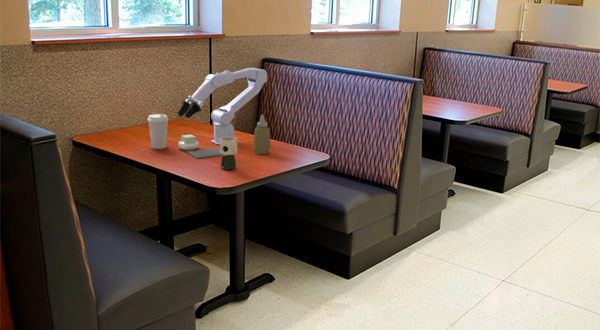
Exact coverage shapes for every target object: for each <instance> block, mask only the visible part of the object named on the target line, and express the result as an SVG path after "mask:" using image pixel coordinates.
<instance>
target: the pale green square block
mask: <svg viewBox="0 0 600 330" xmlns="http://www.w3.org/2000/svg"><path fill="white" fill-rule="evenodd" d="M180 138H181V140H180V141H181V142H183V143H185V144H191V143H196V141H197V137H196V136H195V135H193V134H185V135H184V134H183V135H181V136H180Z"/></svg>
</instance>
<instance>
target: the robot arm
mask: <svg viewBox="0 0 600 330" xmlns="http://www.w3.org/2000/svg"><path fill="white" fill-rule="evenodd" d="M242 78H247V79H246V80H247V84H248V87H246V88H245V89H244V90H243V91H242V92H241V93H239V94H238V95H237V96H236V97H234V98H233V99H232V100H231V101H230V102H228V103H227V104H226V105H223V106H220V107H218V108H217V109H214V110H212V112H211V114H210V119H211V121H212V122H213V139H211V140H210V141H211V142H212V143H214V144H216V145H219V146H220V138H221V137H235V127H234V125H233V124H232V123H231V122H232V120H233V119H234V118H235V113H236V112H238V110H240V109H241V108H242V107H244V106H245V105H246V104H247V103H248V102H250V100H252V99H253V98H254V97H255V96H257V95H258V94H259V93H260V91H261V89H262V88H263V86H264V84H265V83H266V82H268V72H267V70H265V69H262V68H257V67H254V66H253V67H247V68H244V69H243V68H242V69H241V70H237V71H233V72H232V71H230V70H227V69H226V70H224V71H223V72H216V73H215V74H213V73H211V74H210V73H209V74H208V75H206V76H205V77H204V81H203V83H202V84H201V85H200V86H199V87H198V89H196V91H195V92H193V94H192V95H188V96H187V97H188V98H187V99H185V100H181V101H182V103H181V106H180V108H179V109H178V112H177V115H178V116H179V117H180V118H182V117H183V116H184V117H185V118H187V119H190V118H191V117H192V116H194V115H195V114H196V113H200V112H201V111H202V109H201V108H202V107H203V106H204V102H205V101H206V100H207V99H208V97H209V96H210V95H211V94H212V93H213V92H214V91H215V90H216V88H221V86H223V85H224V86H225V85H228V84H231V83H234V80H237V79H242Z"/></svg>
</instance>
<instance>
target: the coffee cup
mask: <svg viewBox="0 0 600 330" xmlns="http://www.w3.org/2000/svg"><path fill="white" fill-rule="evenodd" d="M168 121H169V118H168V115H167V114H163V113H154V114H150V115H148V117H147V122H148V126H149V134H150V141H151V143H150V144H151V148H152V149H155V150H156V149H157V150H161V149H166V148H167V137H168V136H167V135H168Z"/></svg>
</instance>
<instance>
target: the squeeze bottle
mask: <svg viewBox="0 0 600 330" xmlns="http://www.w3.org/2000/svg"><path fill="white" fill-rule="evenodd" d="M252 146H253V150H254V152H255V154H256V155H268V154H269V152H270V150H271V147H272V143H271V131H270V128H269V126H268V122H267V121H266V120H265V115H264V114H260V118H259V121H258V122H256V126H255V128H254V134H253V142H252Z"/></svg>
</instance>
